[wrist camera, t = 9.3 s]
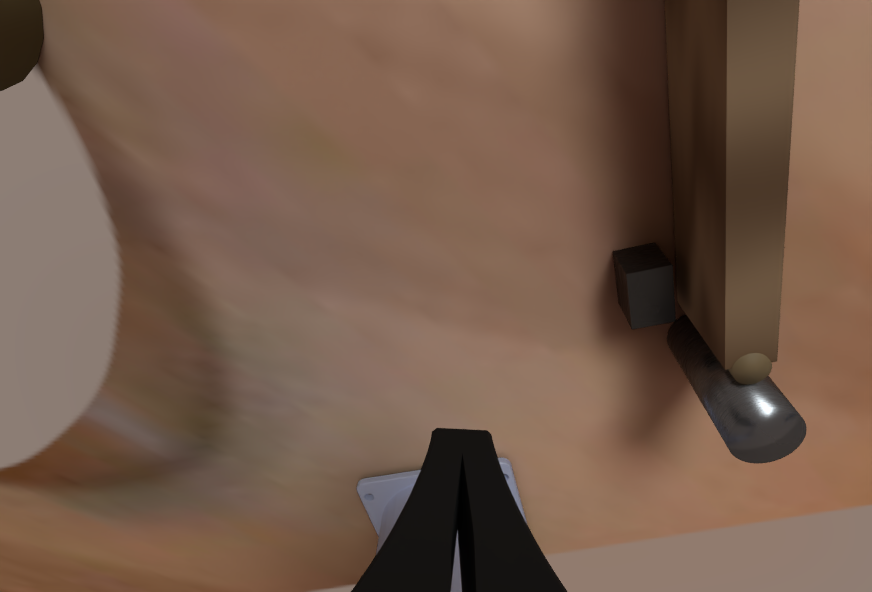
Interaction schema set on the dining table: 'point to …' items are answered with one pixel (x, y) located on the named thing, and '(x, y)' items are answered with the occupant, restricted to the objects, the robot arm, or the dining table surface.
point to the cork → (19, 39)
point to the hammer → (707, 363)
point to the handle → (731, 170)
